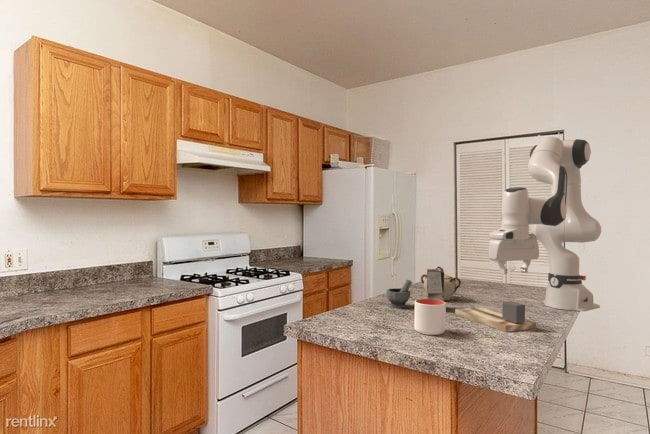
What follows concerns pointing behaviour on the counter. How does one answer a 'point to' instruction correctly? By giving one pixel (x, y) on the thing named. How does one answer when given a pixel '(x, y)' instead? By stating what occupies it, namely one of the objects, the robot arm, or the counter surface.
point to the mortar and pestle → (399, 295)
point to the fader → (513, 312)
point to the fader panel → (493, 319)
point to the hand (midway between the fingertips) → (514, 273)
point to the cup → (430, 316)
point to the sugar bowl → (445, 285)
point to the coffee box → (435, 284)
